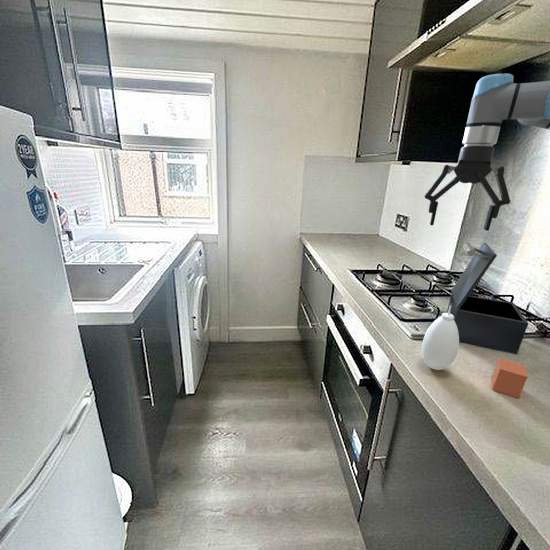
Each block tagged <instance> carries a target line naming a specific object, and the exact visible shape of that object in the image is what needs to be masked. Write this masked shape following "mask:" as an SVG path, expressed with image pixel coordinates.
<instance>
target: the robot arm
mask: <svg viewBox="0 0 550 550" xmlns="http://www.w3.org/2000/svg"><path fill="white" fill-rule="evenodd" d="M514 79H515V78H514V75H513V74H511V73H492V74H488V75H485V76H482V77H481V78H479V80H478V81H477V82H476V84H475V88H474V91H473V95H472V98H471V100H470V101H471V102H470V106H469V112H468V115H467V121H466V125H465V129H464V134H463V138H462V143H461V144H462V145H464V146H462V147H461V148H460V151H459V155H458V160H457V163H456V165H449V164H445V165H444V166H443V167H442V171H441V173H440V174H439V176H438V177H437V178H436V180H435V181H434V182H433V184H432V185H431V186H430V187H429V189H428V190H427V191H426V193H425V194H424V199H425V200H428V201H429V205H428V213H429V214H431V217H430V222H429V225H430V226H434V224H435V219H436V215H437V210H438V206H439V201H438V199H440V198H441V197H442V196H444V195H445V194H446V193H447V192H448V191H449V190H451V189H452V188H454V186H456V185H457V184H458V183H459V182H460V183H462V184H473V185H474V184H475V185H476V184H480V185H481V186H482V188H483V190H484V191H485V194H487V196H488V197H489V199H490V201H491V202H492V203H493V204H489V207H488V210H487V215H486V218H485V221H484V225H483V227H482V228H483V230H484V231H487V232H489V231H490V227H491V225H492V220H493V219H497V218H498V215H499V212H500V209H501V207H502V206H505V205H510V204H511V198H510V194H509V191H508V188H507V184H506V181H505V180H506V179H505V177H504V175H505V174H504V173H505V167H504V166H500V165H499V166H498V167H497V166H495V167H492V162H493V161H492V160H493V157H494V154H495V151H496V150H495V147H494V145H496V144H497V143H498V138H499V135H500V131H501V126H502V123H503V121H504V120H508V121H509V120H516V121H517V122H518V123H519V124H520V125H523V126H525V127H536V128H541V129H545V130H549V131H550V80H547V81H546V80H544V81H533V82H523V83H516V82H515V81H514ZM514 82H515V83H514ZM452 172H454V174H455V177H453V178H452V179H451V181H449V182H448V183H447V184H445V185H444V186H443V187H442V188H441V189H439V190H438V192H436V193H434V192H435V191H436V190H437V189H438V187H439V186H440V184H441V183H442V182H443V181H444V179H445V178H446V177H447V175H449V174H451V173H452ZM490 173H492V175H493V176H495V180H496V184H497V188H498V191H499V194H500V198H501V199H500V198H499V197H498V195H497V193H496V192H495V191H494V189H493V188H492V186H491V184H490V182H489V181H488V180H487V178H486V177H488V175H489V174H490ZM433 194H434V195H433Z"/></svg>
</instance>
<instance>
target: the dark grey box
mask: <svg viewBox="0 0 550 550" xmlns="http://www.w3.org/2000/svg"><path fill="white" fill-rule="evenodd" d="M450 305H451V310H450V314H452V315H453V316H454V319H453V320H454V321H455V323H456V325H457V329H458V333H459V343H463V344H468V345H472V346H477V347H482V348H486V349H491V350H495V351H500V352H505V353H509V354H513V355H518V352H519V351H520V347H521V344H522V342H523V339H524V337H525V334H526V332H527V329H528V326H529V322H528V321H527V318H525V316H524V314H522V312H521V311H520V309H519V308H518V306H517V305H516V304H515V302H511V301H506V300H499V299H493V298H487V297H482V296H475V295H471V294H470V295H469V296H468V298H467V299H466V300H465V302H464V303H463V305H462V306H461V308H460V309H457V308H456V305H455V302H454V298H453V295H452V294H450V297H449V303H448V306H447V310H446V313H448V310H449V307H450Z"/></svg>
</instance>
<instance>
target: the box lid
mask: <svg viewBox="0 0 550 550" xmlns="http://www.w3.org/2000/svg"><path fill="white" fill-rule="evenodd" d="M462 248H463V249H464V251H465V254H466V255H467V256H468V257H472V259H471V260H470V261H469V263H468V264H467V266H466V268H465V269H464V270H463V271H462V273H461V275H460V277H459V278H458V280H457V281H456V282H455V284H454V286H453V287H452V289H451V295H453V298H454V302H455V305H456V308H457V309H460V308H461V306H462V305H463V303H464V302H465V300H466V299H467V298H468V296H469V295H470V296H471V293H472V292H473V290H474V289H475V288H476V287H477V285H478V284H479V282H480V281H481V279H482V278H483V276H484V275H485V274H486V272H487V271H488V269H489V268H490V266H491V265H492V263H493V262H494V261H495V259H496V258H497V256H498V254H497V253H496V252H494V250H493V248H491V246H489V245H488V243H486V242H484V241H483V242H482V244H481V245H480V246H479V248H477V247H474V246H472V244H471V243H470V242H465V243H463V244H462Z"/></svg>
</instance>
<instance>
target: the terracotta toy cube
mask: <svg viewBox="0 0 550 550" xmlns="http://www.w3.org/2000/svg"><path fill="white" fill-rule="evenodd" d="M490 379H491V387H492V388H491V390H492V391H495V392H498V393H501V394H504V395H507V396H510V397H513V398H516V399H520V396H521V394H522V392H523V389H524V386H525V384H526V382H527V379H528V374H527V370H526V366H525V364H523V363H519V362H515V361H511V360H509V359H504V358H501V357H498V358H497V360H496V364H495V365H494V369H493V372H492V374H491V377H490Z"/></svg>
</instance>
